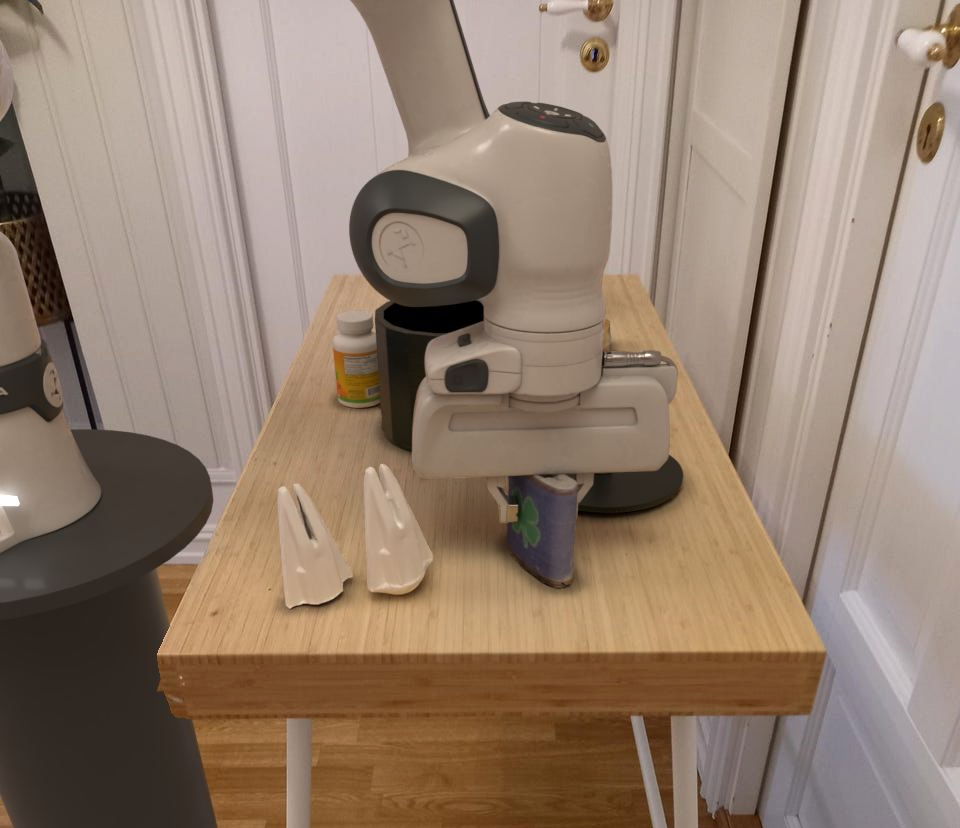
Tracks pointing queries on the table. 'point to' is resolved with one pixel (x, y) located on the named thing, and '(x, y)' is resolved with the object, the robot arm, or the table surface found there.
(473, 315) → the tin
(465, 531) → the table surface
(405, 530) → the shaker set
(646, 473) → the lid
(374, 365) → the supplement bottle
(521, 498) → the flask
